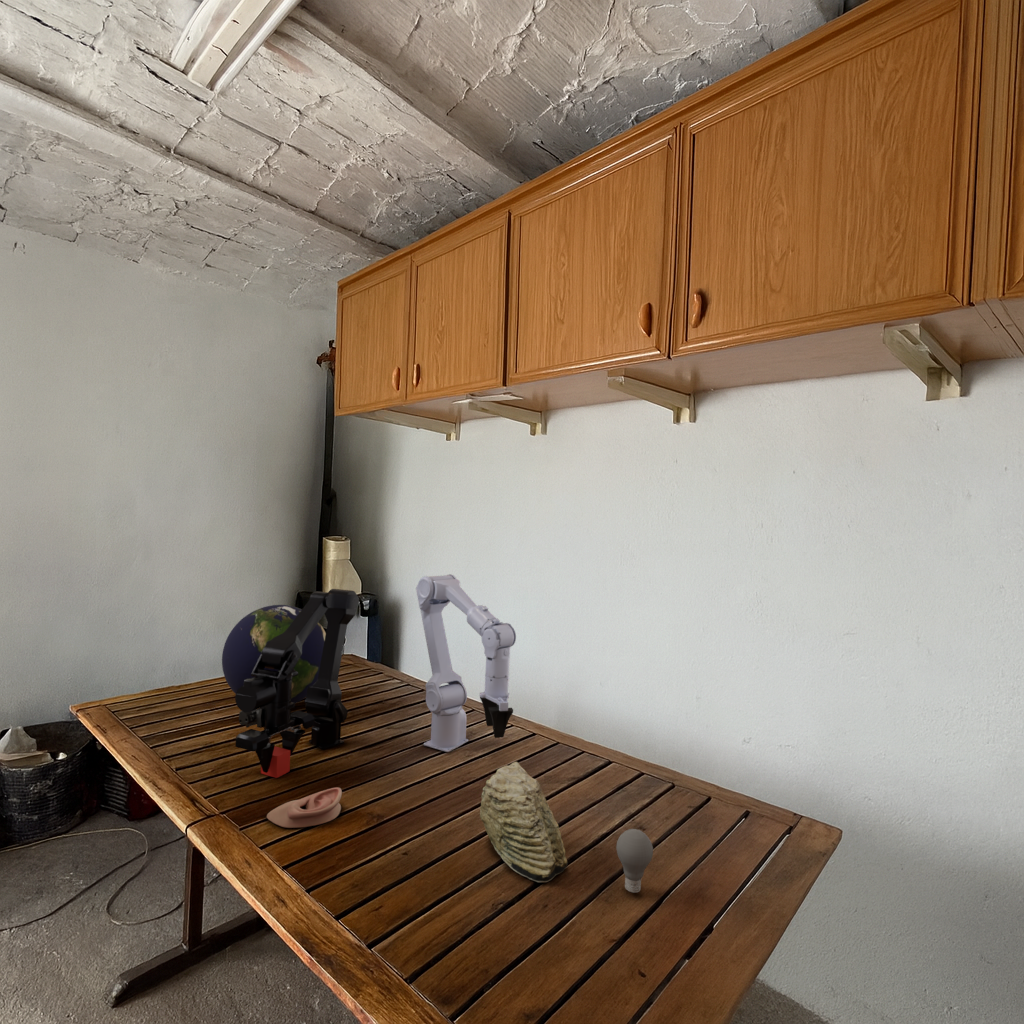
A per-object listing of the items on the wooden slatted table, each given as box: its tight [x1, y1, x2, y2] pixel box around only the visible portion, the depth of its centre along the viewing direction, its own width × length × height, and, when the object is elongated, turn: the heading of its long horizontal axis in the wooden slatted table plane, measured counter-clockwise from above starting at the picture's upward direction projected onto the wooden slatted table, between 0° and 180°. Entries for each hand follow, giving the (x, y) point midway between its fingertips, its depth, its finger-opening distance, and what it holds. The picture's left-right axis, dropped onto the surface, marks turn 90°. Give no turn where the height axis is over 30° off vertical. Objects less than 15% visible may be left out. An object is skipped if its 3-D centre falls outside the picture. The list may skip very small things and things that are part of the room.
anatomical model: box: [266, 786, 343, 829], centre depth 126 cm, size 13×4×12 cm
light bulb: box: [615, 828, 654, 894], centre depth 106 cm, size 6×6×10 cm
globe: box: [221, 604, 326, 704], centre depth 188 cm, size 30×30×30 cm
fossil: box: [479, 761, 569, 883], centre depth 114 cm, size 9×18×15 cm, turn 46°
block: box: [260, 745, 291, 779], centre depth 144 cm, size 4×5×5 cm
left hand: (275, 767), depth 144 cm, fingers open, 6 cm apart
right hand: (494, 731), depth 152 cm, fingers open, 7 cm apart
